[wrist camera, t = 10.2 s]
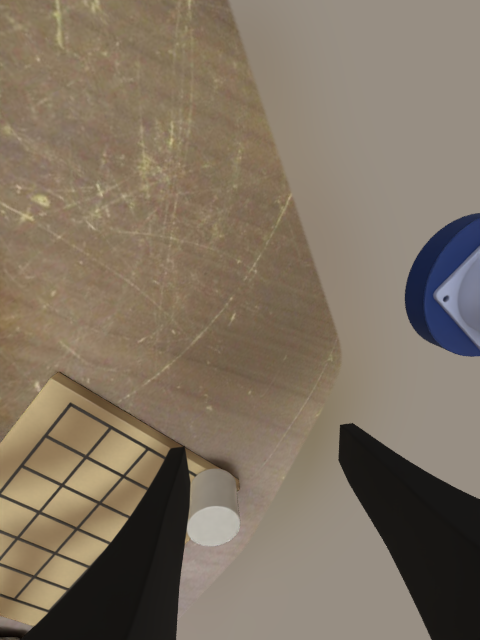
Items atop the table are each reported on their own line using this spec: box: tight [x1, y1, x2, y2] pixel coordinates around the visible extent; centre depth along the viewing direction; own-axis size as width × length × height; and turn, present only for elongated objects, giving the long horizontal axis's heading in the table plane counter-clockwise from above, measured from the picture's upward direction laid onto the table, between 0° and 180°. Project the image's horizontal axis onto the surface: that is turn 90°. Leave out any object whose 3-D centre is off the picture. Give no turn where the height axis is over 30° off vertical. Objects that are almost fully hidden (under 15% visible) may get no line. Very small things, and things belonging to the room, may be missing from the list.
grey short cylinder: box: [187, 469, 240, 546], centre depth 21 cm, size 4×4×3 cm
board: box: [0, 372, 240, 626], centre depth 23 cm, size 18×24×1 cm
